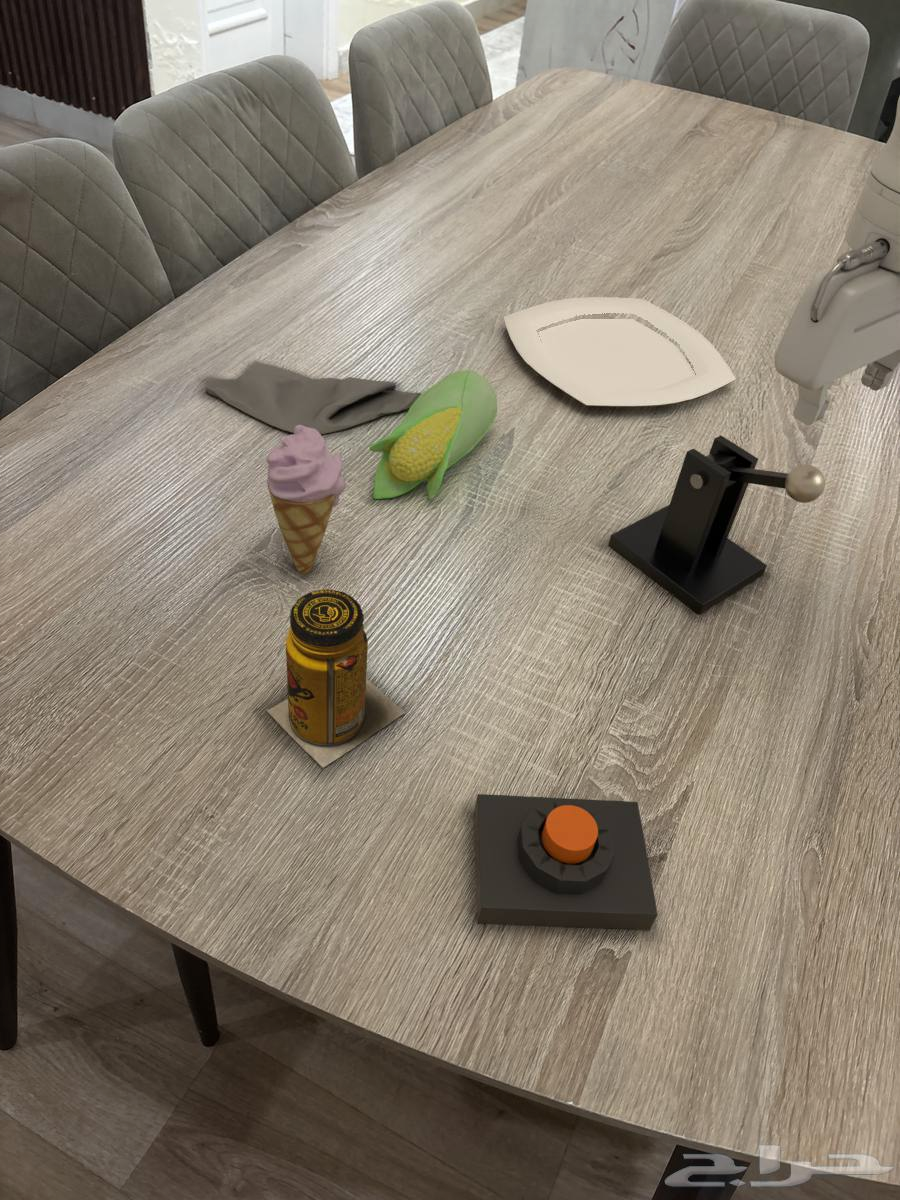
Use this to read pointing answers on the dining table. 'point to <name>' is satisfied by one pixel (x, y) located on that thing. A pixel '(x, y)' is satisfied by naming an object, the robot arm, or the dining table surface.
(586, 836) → the power button
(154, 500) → the dining table surface
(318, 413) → the cloth
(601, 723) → the dining table surface
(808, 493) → the switch lever
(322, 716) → the condiment
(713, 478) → the ball handle lever stand
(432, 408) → the corn
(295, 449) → the ice cream cone
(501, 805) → the dark grey button base
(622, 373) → the plate
